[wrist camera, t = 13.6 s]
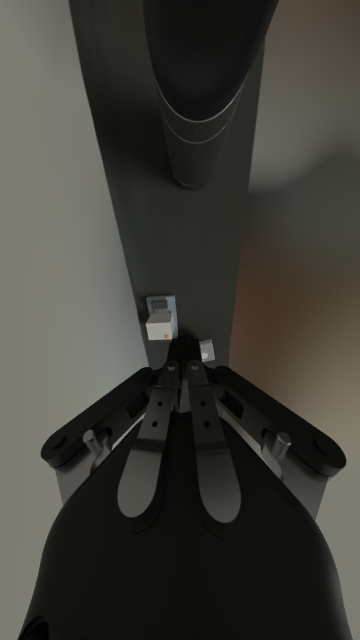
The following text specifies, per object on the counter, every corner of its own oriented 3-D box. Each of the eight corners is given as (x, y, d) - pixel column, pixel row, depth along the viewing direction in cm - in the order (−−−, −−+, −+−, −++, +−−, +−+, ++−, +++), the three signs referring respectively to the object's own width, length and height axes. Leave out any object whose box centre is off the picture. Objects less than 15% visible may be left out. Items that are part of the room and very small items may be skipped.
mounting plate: (147, 296, 40) (146, 298, 39) (174, 294, 40) (174, 296, 38) (155, 336, 46) (154, 339, 45) (178, 335, 46) (178, 338, 44)
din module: (152, 312, 41) (145, 323, 34) (172, 311, 40) (170, 322, 34) (154, 327, 43) (148, 340, 36) (174, 326, 42) (172, 339, 36)
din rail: (152, 298, 39) (150, 301, 36) (167, 297, 38) (166, 300, 36) (159, 338, 45) (157, 343, 42) (172, 337, 44) (171, 342, 42)
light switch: (192, 366, 50) (182, 351, 38) (189, 350, 53) (180, 333, 41) (215, 362, 48) (212, 345, 37) (211, 346, 52) (208, 327, 40)
